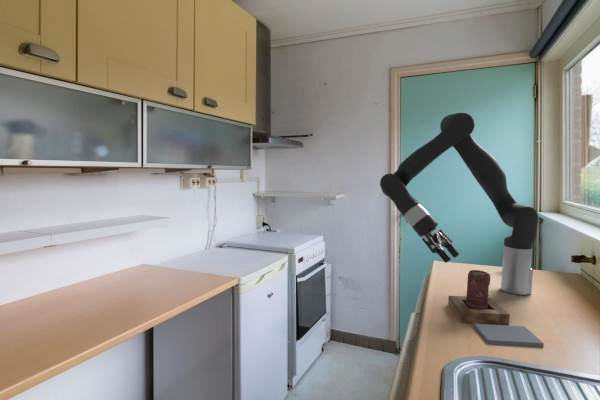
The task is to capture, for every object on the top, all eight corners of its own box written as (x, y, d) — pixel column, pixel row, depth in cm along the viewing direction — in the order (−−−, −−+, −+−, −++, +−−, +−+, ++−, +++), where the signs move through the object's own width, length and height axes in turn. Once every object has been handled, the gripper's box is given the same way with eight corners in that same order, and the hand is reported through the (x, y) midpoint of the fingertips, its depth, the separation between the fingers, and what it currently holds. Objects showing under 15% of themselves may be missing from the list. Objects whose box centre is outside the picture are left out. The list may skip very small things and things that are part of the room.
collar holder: (489, 307, 121) (490, 297, 121) (508, 325, 108) (509, 314, 107) (448, 305, 123) (448, 295, 122) (461, 323, 109) (462, 311, 109)
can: (490, 319, 112) (493, 275, 110) (468, 317, 113) (470, 274, 111) (484, 312, 118) (487, 270, 116) (463, 310, 119) (466, 268, 117)
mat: (524, 329, 105) (524, 326, 105) (543, 346, 95) (543, 343, 95) (474, 326, 107) (474, 323, 107) (487, 343, 97) (488, 339, 97)
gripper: (420, 215, 118) (454, 256, 111) (435, 211, 128) (468, 248, 122) (404, 229, 121) (436, 269, 115) (420, 224, 132) (451, 260, 126)
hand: (452, 258), depth 119 cm, fingers open, 8 cm apart
